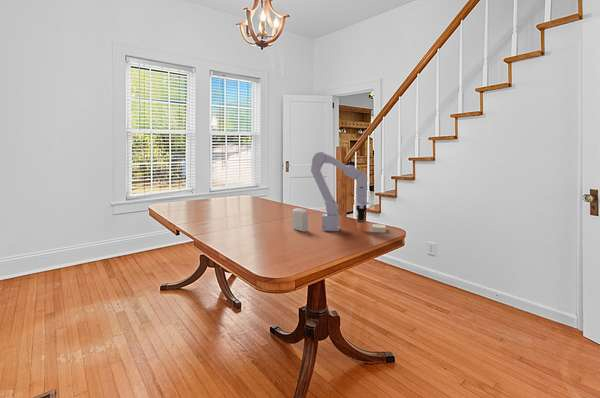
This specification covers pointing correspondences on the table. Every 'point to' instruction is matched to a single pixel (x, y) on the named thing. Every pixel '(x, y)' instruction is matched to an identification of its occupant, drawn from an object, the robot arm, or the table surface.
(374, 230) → the cream block
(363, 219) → the walnut cube
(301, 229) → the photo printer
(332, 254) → the table surface
